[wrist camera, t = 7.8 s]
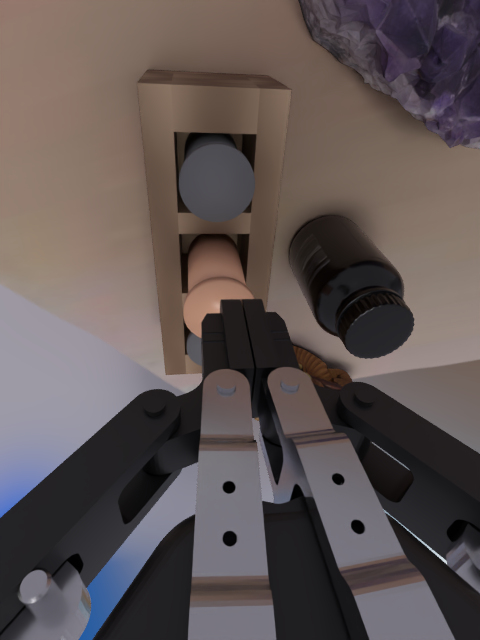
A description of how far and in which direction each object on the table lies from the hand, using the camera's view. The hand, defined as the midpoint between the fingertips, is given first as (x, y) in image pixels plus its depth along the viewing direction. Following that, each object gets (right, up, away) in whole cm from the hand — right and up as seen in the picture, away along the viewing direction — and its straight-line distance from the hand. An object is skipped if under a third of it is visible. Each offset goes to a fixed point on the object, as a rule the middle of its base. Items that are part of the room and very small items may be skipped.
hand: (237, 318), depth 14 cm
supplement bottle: (+8, +6, +20) cm, 23 cm away
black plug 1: (-2, +12, +12) cm, 17 cm away
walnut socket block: (-2, +8, +17) cm, 19 cm away
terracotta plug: (-2, +5, +13) cm, 14 cm away
